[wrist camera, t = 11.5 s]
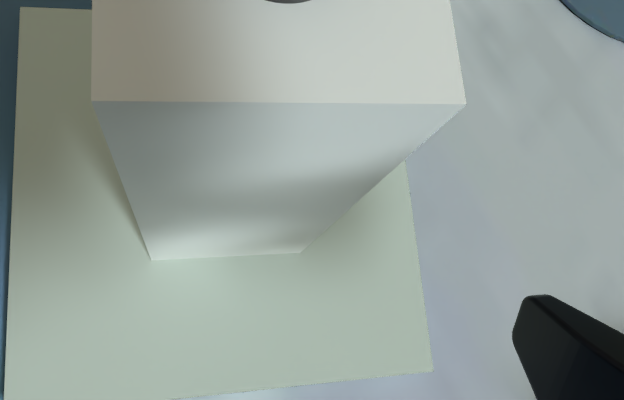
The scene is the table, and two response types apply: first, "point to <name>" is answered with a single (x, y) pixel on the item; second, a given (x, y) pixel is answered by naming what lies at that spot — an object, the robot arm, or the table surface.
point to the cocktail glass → (601, 15)
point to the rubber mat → (180, 269)
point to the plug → (264, 112)
